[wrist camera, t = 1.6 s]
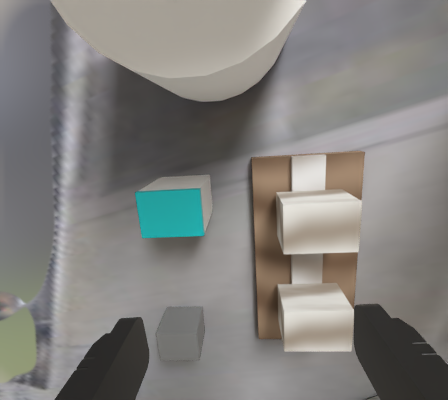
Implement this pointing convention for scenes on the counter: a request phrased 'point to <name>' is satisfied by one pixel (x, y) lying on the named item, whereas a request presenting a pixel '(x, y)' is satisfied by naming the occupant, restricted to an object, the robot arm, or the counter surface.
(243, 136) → the counter surface
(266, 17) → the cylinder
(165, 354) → the grey block
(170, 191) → the block
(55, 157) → the counter surface
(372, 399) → the dish
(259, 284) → the board
